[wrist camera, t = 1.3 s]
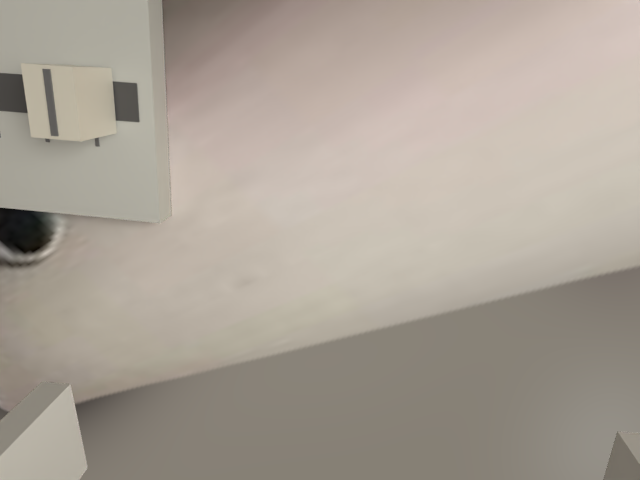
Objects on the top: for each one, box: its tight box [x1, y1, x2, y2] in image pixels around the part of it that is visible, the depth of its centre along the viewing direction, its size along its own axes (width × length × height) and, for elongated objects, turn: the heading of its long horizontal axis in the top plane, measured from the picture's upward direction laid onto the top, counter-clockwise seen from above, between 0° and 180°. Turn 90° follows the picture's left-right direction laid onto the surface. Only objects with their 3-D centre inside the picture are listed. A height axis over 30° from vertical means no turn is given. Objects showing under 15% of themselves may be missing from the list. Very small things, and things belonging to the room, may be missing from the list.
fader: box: [21, 63, 117, 142], centre depth 28 cm, size 4×3×4 cm
